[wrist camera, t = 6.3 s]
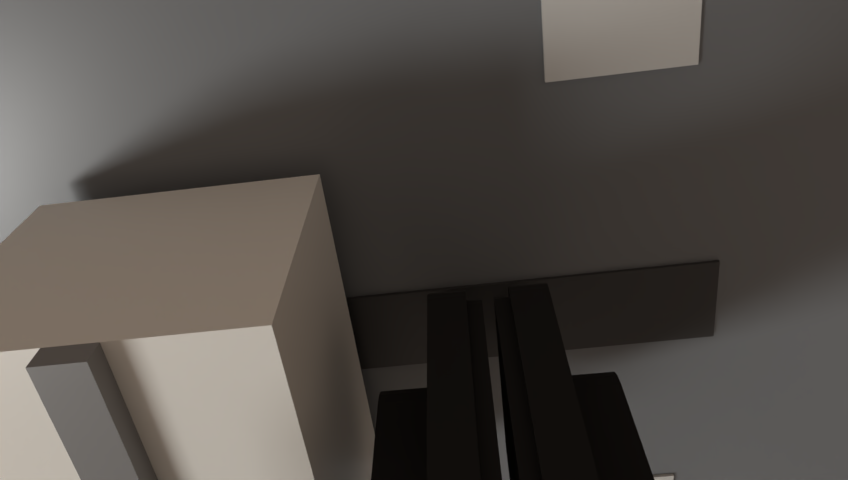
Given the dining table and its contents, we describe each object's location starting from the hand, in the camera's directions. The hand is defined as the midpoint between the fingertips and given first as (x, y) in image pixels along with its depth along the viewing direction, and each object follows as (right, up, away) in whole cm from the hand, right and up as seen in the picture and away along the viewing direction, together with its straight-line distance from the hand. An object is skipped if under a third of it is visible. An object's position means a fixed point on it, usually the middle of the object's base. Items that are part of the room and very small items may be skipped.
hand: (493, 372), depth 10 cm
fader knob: (-4, 0, +1) cm, 4 cm away
